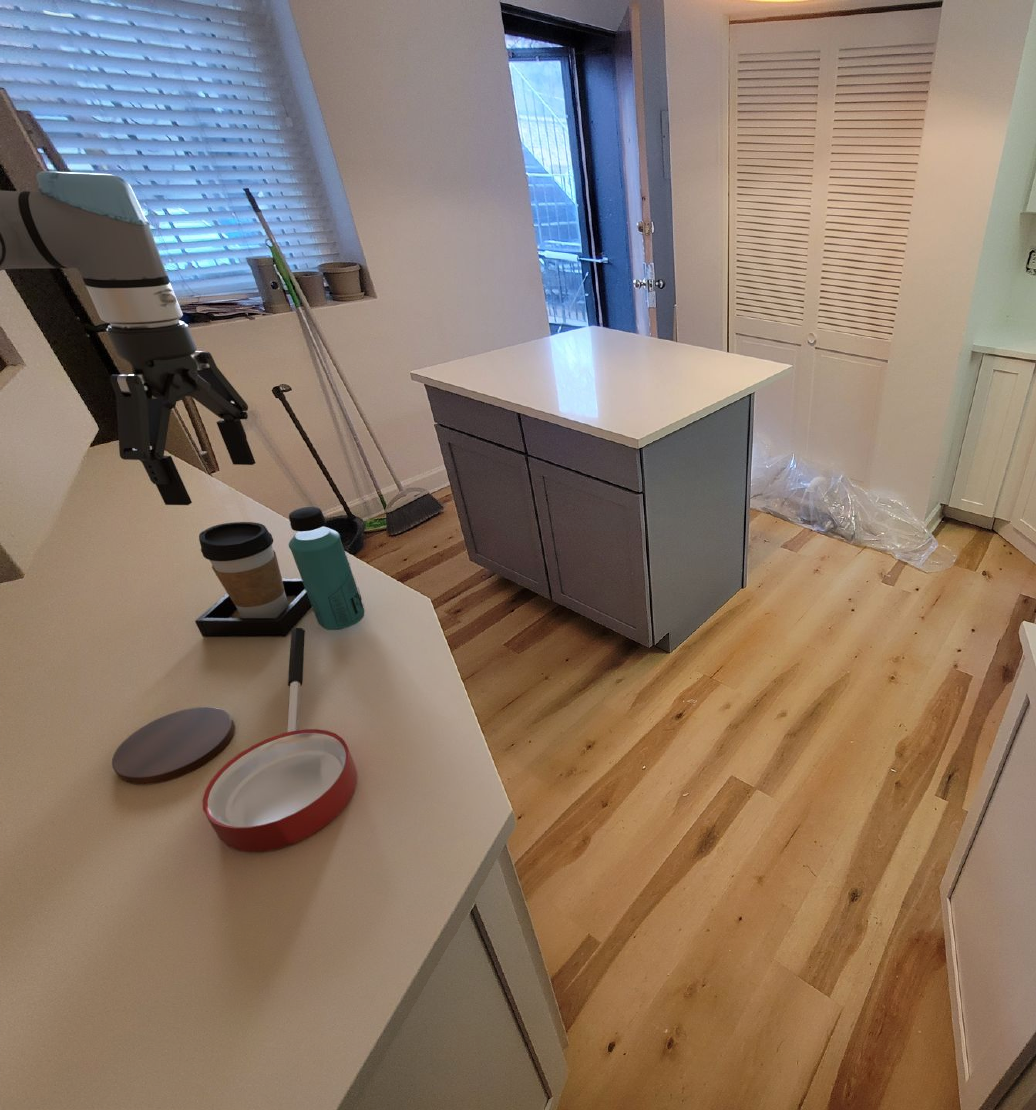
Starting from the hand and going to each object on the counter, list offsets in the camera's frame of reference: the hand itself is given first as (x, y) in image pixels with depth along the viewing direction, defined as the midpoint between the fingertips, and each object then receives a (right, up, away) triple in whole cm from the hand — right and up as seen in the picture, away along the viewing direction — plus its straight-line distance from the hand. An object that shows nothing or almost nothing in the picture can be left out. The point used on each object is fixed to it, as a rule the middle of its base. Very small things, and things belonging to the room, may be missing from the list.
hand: (214, 482), depth 84 cm
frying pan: (+18, -34, -10) cm, 39 cm away
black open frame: (-2, -19, +11) cm, 23 cm away
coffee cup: (-2, -20, +11) cm, 23 cm away
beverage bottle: (+12, -21, +10) cm, 26 cm away
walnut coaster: (+5, -33, -11) cm, 36 cm away
